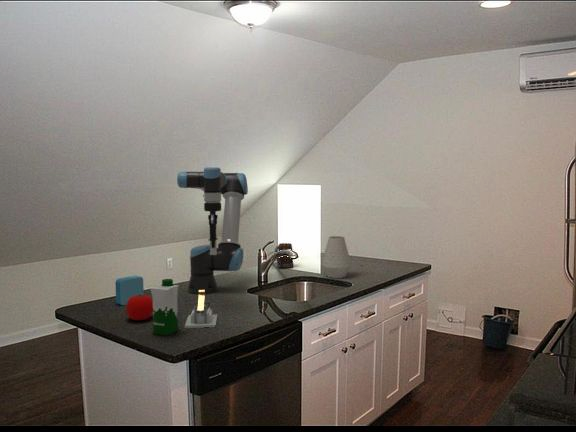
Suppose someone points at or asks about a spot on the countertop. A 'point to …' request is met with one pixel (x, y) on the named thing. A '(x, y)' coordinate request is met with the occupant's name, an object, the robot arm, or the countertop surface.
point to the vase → (336, 258)
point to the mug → (284, 257)
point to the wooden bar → (201, 301)
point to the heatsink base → (201, 325)
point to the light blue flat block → (128, 288)
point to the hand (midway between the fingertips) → (213, 254)
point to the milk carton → (165, 308)
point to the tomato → (139, 307)
